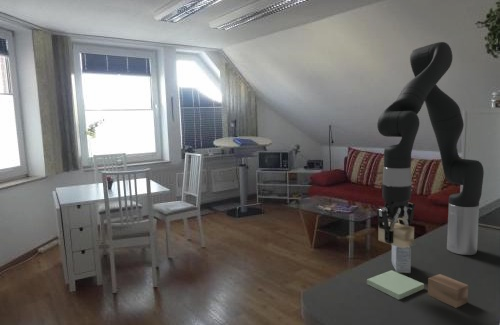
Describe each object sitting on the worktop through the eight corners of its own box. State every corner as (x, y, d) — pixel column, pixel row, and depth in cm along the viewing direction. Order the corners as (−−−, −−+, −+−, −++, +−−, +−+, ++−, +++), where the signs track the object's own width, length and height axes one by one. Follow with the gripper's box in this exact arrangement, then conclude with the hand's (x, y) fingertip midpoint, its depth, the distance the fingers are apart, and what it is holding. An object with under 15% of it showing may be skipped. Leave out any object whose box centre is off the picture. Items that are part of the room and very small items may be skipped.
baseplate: (391, 274, 111) (391, 270, 110) (423, 288, 101) (424, 283, 101) (366, 284, 105) (366, 279, 105) (399, 299, 96) (399, 294, 95)
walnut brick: (438, 290, 100) (439, 273, 100) (467, 303, 93) (468, 285, 93) (427, 295, 98) (428, 278, 97) (456, 308, 91) (456, 290, 90)
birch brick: (388, 236, 106) (388, 220, 105) (413, 244, 100) (414, 227, 99) (378, 240, 103) (378, 224, 103) (403, 248, 97) (403, 230, 96)
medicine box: (410, 273, 111) (411, 247, 110) (395, 273, 112) (396, 246, 111) (405, 263, 119) (405, 238, 117) (391, 262, 119) (391, 238, 118)
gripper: (401, 178, 106) (400, 232, 108) (368, 184, 99) (367, 242, 101) (424, 181, 100) (423, 239, 102) (391, 188, 92) (390, 250, 95)
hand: (395, 240), depth 101 cm, fingers closed on birch brick, 5 cm apart
